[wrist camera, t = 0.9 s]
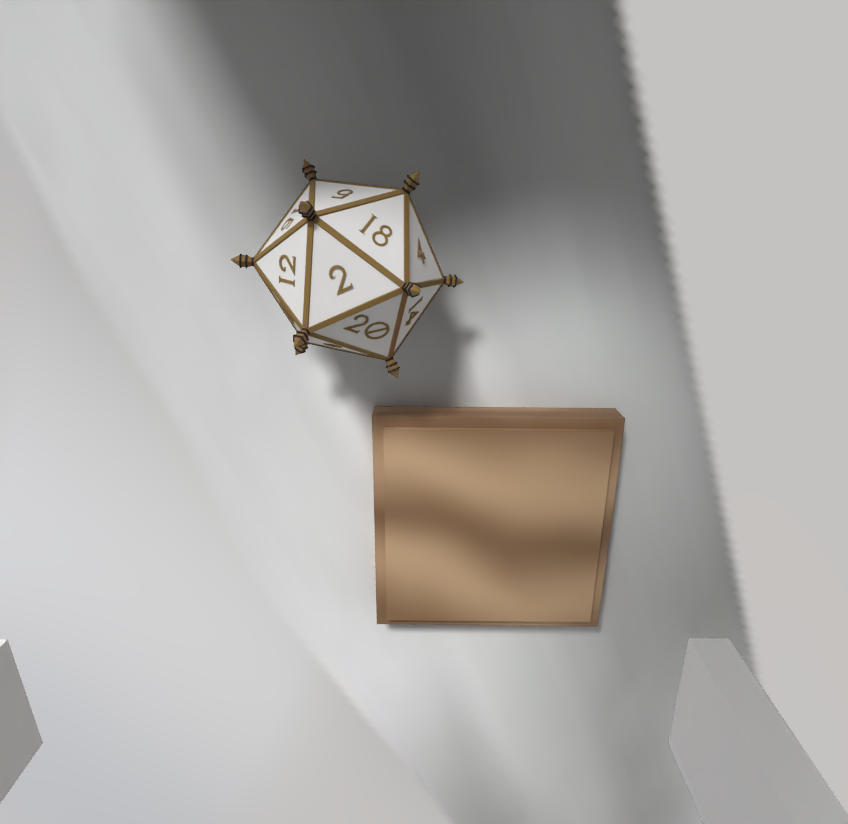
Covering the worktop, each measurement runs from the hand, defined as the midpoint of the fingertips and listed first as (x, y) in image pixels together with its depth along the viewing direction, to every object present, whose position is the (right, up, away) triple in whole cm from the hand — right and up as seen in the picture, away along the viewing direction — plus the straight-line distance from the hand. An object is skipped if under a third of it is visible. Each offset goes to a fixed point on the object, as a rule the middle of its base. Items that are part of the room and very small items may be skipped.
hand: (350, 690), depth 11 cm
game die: (-2, +13, +17) cm, 22 cm away
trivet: (+5, 0, +22) cm, 22 cm away
